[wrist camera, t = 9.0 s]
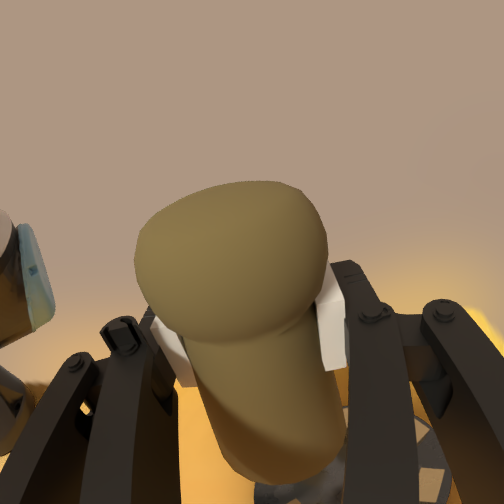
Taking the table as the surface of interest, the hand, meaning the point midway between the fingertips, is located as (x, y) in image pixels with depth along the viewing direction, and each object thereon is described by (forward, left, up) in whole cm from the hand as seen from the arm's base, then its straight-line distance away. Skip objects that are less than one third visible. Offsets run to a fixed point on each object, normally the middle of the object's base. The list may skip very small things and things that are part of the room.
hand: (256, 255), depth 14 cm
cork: (+3, -5, -7) cm, 9 cm away
